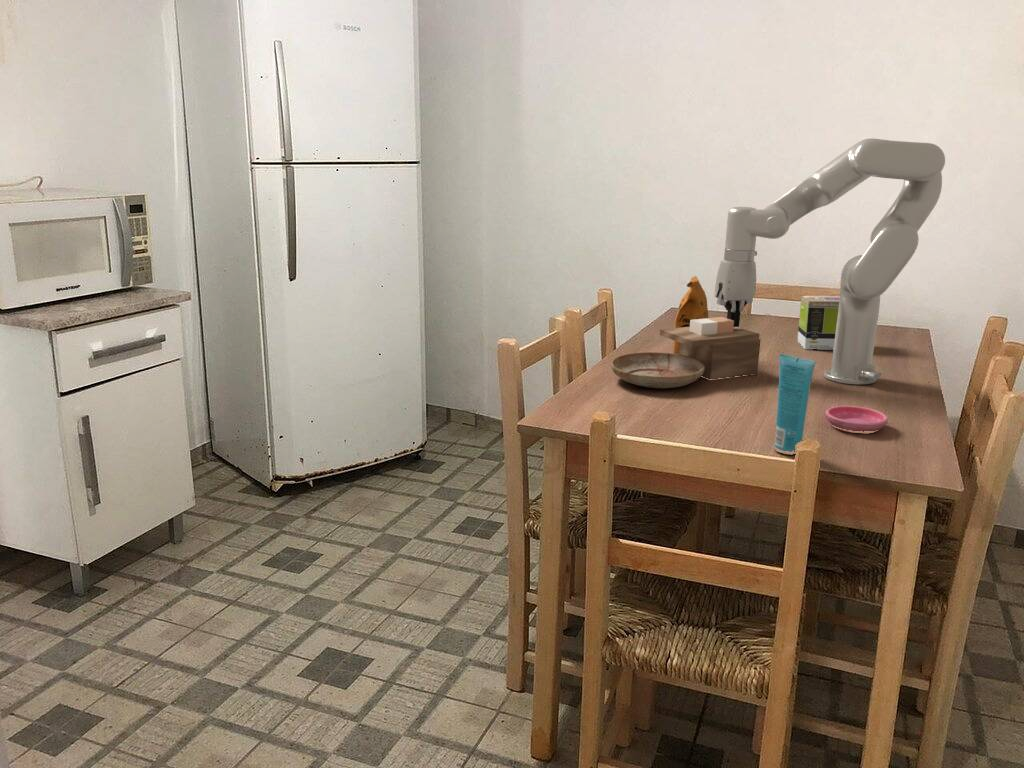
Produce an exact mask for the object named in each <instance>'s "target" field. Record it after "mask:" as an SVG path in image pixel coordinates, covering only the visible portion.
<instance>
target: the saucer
mask: <svg viewBox="0 0 1024 768" xmlns="http://www.w3.org/2000/svg"><path fill="white" fill-rule="evenodd" d="M824 415H825V418H826V419H827V421H828V422H829V424H830V425H831V424H832V425H834V426H836V427H839V428H842V429H846V430H852V431H863V432H864V431H876V430H879V431H880V430H881V429H882V428H884V427H885V426H886V425H887V424H888V420H889V417H888V416H887V415H886V414H885V413H884V412H882V411H879V410H877V409H874V408H869V407H865V406H864V407H863V406H858V405H838V406H837V405H836V406H832V407H829V408H828V409H826V410H825V413H824ZM841 418H842V419H841ZM832 425H831V426H832Z"/></svg>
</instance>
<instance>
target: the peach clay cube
mask: <svg viewBox="0 0 1024 768" xmlns="http://www.w3.org/2000/svg"><path fill="white" fill-rule="evenodd" d="M706 319H710V320H713V321H716V322H718V328H717V333H727V332H733V327H734V320H731V319H727V317H723V316H716V317H715V316H714V317H708V318H706Z"/></svg>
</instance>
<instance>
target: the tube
mask: <svg viewBox="0 0 1024 768" xmlns="http://www.w3.org/2000/svg"><path fill="white" fill-rule="evenodd" d="M815 365H816V360H811V359H807V358H801V357H796V356H793V355H788V354H783V353H779V374H778V375H779V377H778V391H777V392H778V393H777V394H778V395H777V409H776V410H777V413H776V425H775V438H774V448H775V447H776V448H778V449H780V450H783V451H789V452H790V451H791V452H792V451H793V450H794V452H795V445H796V444H797V443H798V442H800V441H802V442H803V436H804V429H805V420H806V414H807V408H808V402H809V401H808V400H809V396H810V390H811V389H810V388H811V384H812V379H813V374H814V371H815V370H814V369H815Z"/></svg>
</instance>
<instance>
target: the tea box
mask: <svg viewBox="0 0 1024 768" xmlns="http://www.w3.org/2000/svg"><path fill="white" fill-rule="evenodd" d="M839 299H840V295H835V296H834V295H801V298H800V307H799V321H798V328H797V343H798V344H799V343H800V344H801V345H800V344H799V345H800V346H801V347H802V346H803V347H802V348H803V349H804V350H813V349H817V350H820V351H824V350H825V351H827V350H828V351H833V350H834V341H835V333H836V325H837V317H838V309H839Z"/></svg>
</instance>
